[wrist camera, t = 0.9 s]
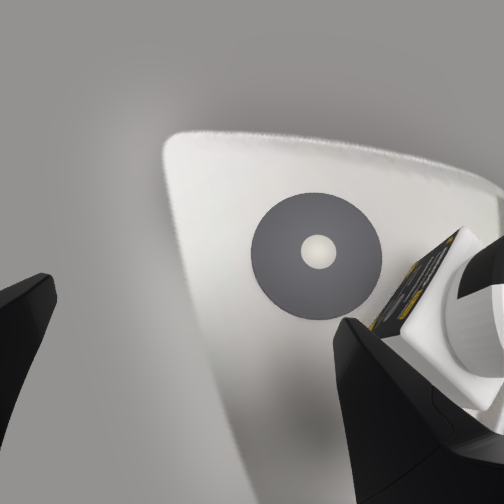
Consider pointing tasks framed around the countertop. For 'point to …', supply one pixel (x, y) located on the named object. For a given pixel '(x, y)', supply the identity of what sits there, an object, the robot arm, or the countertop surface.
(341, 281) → the pad
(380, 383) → the robot arm
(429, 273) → the medicine bottle
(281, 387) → the countertop surface
